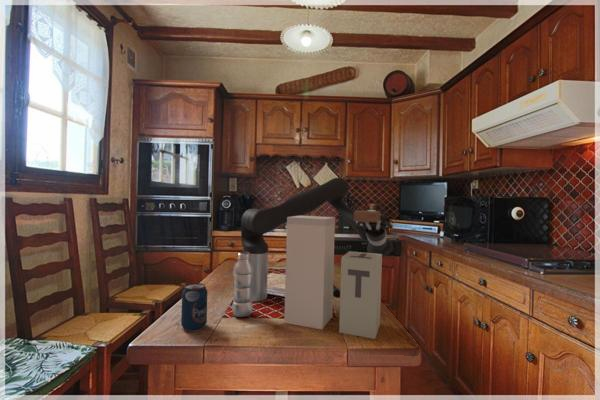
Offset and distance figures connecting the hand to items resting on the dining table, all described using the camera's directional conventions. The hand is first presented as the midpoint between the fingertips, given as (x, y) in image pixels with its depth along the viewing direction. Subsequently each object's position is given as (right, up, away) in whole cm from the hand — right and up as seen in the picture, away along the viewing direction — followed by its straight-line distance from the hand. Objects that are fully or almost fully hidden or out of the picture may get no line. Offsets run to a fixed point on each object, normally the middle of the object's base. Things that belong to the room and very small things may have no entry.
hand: (371, 212), depth 109 cm
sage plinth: (-6, -34, -14) cm, 37 cm away
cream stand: (-21, -33, -8) cm, 40 cm away
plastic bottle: (-42, -33, -7) cm, 54 cm away
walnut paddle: (-1, -2, -3) cm, 4 cm away
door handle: (-17, -34, +24) cm, 45 cm away
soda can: (-54, -33, -17) cm, 66 cm away
